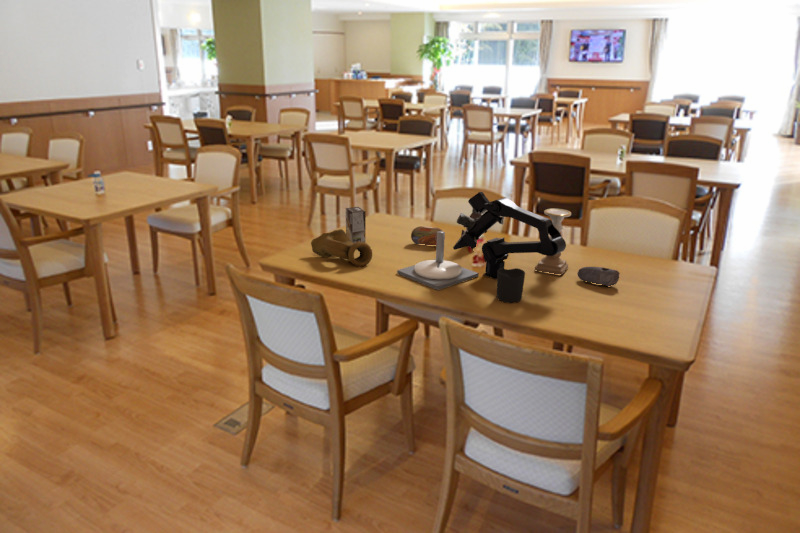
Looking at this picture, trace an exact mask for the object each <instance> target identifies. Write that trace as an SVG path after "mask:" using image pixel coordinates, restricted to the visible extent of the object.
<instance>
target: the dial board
mask: <svg viewBox="0 0 800 533" xmlns="http://www.w3.org/2000/svg"><path fill="white" fill-rule="evenodd" d="M434 260H436V258H435V259H434ZM415 265H416V264H414V265H410V266H407V267H403V268H400V269H397V270H396V272H397V275H399V274H400V275H399V276H402V277H404V278H406V279H409V280H411V279H412V281H414V282H416V281H417V283H419V284H421V285H424V286H426V287H429V288H431V289H434V290H436V291H440V289H441V290H444V289H446V287H447V288H449V286H450V287H452V285H453V286H455V285H454V284H456V285H458V284H457V283H459V284H461V283H460V282H462V283H464V282H463V281H465V282H467V281H466V280H468V281H470V280H469V279H471V280H473V279H472V278H474V279H476V278H475V277H477V278H479V272H476V271H474V270H471V269H468V268H465V267H462V266H461V268H462V273H461V275H460V276H458V277H456V278H452V279H442V280H439V279H429V278H425V277H422V276H419V275H417V274H416V273H415ZM443 288H444V289H443Z"/></svg>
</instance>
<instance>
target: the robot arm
mask: <svg viewBox="0 0 800 533" xmlns="http://www.w3.org/2000/svg"><path fill="white" fill-rule="evenodd" d="M467 202H468V204H469V205H470V207H471V208H472V210H473V209H474V210H475V212H476V213H480V214H481V216H480V217H479V218H475V219H472V218H470V216H468V215H466V214H465V213H460V214H459V216H458V218H457V219H456V223H457V224H458V225H461V226H462V227H463V228H465V229H462V230H461V234H460V235H461V236H460V237H459V239H458V240H457V241H456V242H455V244H454V245H453V247H452V250H455V251H456V250H459V249H462V248H467V247H468V246H469V247H468V248H470V249H471V250H474V249H476V248H475V247H476V244H477V240H478V239H479V237H480V236H481V235H482V236H483V235H484V234H486V233H488V230H490V229H491V228H492V227H494V225H496V224H497V223H499V224H500V225H504V219H505V218H512V219H514V220H516V221H518V222H521V223H522V224H523V223H524V224H526V225H528V226H531V227H533V228H535V229H537V231H538V235H539V240H534V241H532V240H531V241H530V240H529V241H509V242H508V241H506V240H505V237H500V238H498V237H494V238H492V239H488V240H486V242H484V243H483V245H482V246H481V253H482V255H483V260H484V262H485V272H484V273H483V274H482V275H483V276H485V275H486V276H485V277H488V278H491V279H494V280H497V270H498V269H500V268H503V269H505V266H506V262H505V261H506V260H507V259H508V258H509V254H527V253H528V254H530V253H531V254H532V253H533V254H534V253H537V254H540V255H542V256H546V255H547V256H554V255H556V254H558V253H560V252H561V253H562V252H564V251H565V250H566V248H567V244H566V241H565V239H564V238H563V236H562V234H561V232H559V231H558V230H557V229H556V228H555V226H554V225H553V223H552V219H551V218H550V217H549V218H548V217H545V216H542V215H541V214H540V215H539V214H537V213H534V212H531V211H530V210H527V209H524V208H522V207H520V206H518V205H517V204H516V203H515V202H514V201H512V200H511V199H509V198H507V197H501V198H498V199H494V200H493V201H490V200H489V199H488V197H487V196H486V195H485V193H484V191H482V190H481V191H478V192H477V193H476V194H475V195H473V196H472V197H470V198H469V199H468V201H467ZM549 236H551V237H552V238H549Z"/></svg>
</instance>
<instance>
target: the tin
mask: <svg viewBox="0 0 800 533" xmlns="http://www.w3.org/2000/svg"><path fill="white" fill-rule="evenodd" d="M438 231H443V230H442V229H441V228H439V227H431V226H417V227H415V228H414V229H412V231H411V233H410V238H411V242H413V243H414V244H415V245H417V244H425V245H437V232H438ZM445 239H446V238H445ZM445 239H444V241H446V240H445Z"/></svg>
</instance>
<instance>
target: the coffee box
mask: <svg viewBox="0 0 800 533" xmlns="http://www.w3.org/2000/svg"><path fill="white" fill-rule="evenodd" d="M345 233H346V235H347V236H348V237H349V239H350V240H351V241H352V242H353V243H356V242H365V243H367V242H366V237H367V236H366V234H367V233H366V210H365V209H363V208H361V207H359V206H351V207H345Z"/></svg>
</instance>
